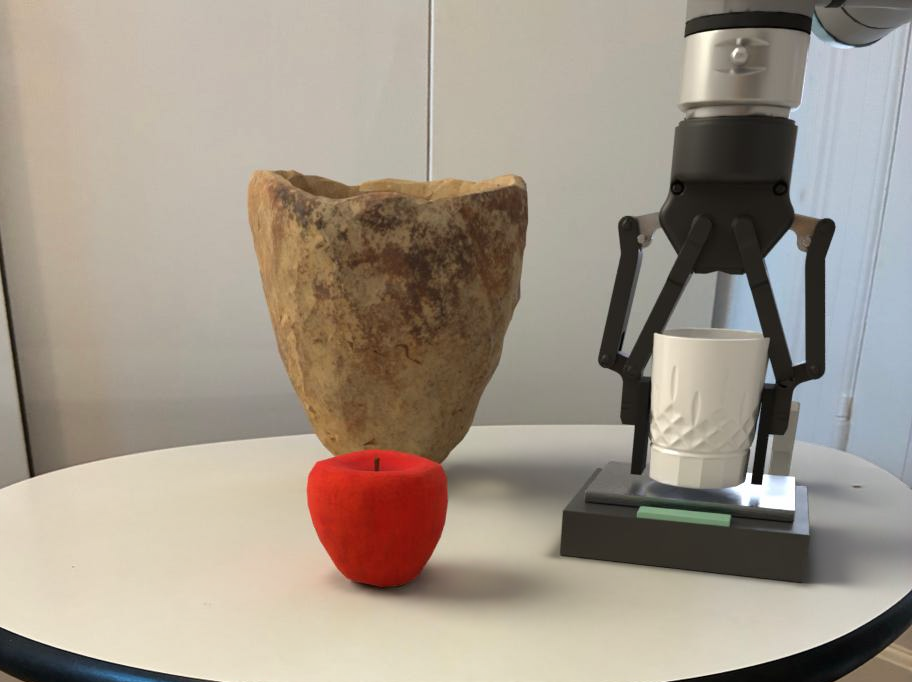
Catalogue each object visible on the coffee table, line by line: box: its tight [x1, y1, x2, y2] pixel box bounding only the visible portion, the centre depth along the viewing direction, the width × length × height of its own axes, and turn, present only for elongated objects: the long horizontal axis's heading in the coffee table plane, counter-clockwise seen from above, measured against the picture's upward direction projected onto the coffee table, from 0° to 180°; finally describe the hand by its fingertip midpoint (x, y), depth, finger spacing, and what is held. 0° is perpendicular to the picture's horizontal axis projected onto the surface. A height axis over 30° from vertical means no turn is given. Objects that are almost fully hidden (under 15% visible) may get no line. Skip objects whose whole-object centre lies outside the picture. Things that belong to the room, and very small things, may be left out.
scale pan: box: [584, 460, 796, 522], centre depth 74 cm, size 14×10×1 cm
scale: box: [559, 467, 811, 583], centre depth 74 cm, size 16×14×4 cm
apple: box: [306, 449, 449, 588], centre depth 64 cm, size 9×9×8 cm
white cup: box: [648, 327, 770, 489], centre depth 71 cm, size 8×8×10 cm
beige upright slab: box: [767, 400, 801, 477], centre depth 88 cm, size 7×2×8 cm, turn 161°
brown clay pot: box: [247, 169, 529, 465], centre depth 86 cm, size 22×22×25 cm
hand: (696, 475), depth 73 cm, fingers closed on white cup, 8 cm apart
